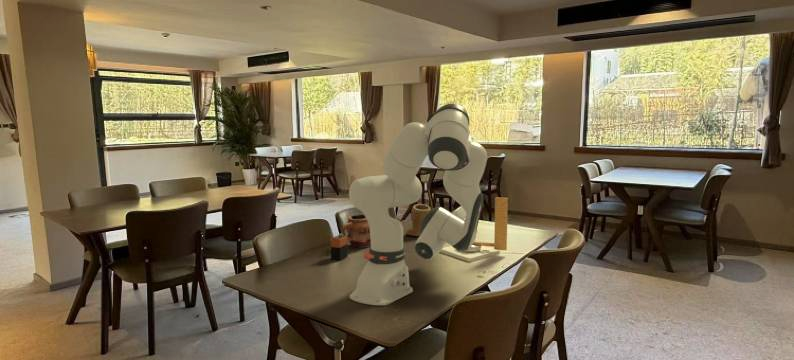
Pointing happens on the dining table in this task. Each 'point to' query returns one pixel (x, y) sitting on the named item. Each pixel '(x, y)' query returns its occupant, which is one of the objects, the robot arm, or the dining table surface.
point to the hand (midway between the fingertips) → (451, 217)
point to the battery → (339, 247)
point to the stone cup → (418, 218)
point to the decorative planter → (357, 231)
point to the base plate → (470, 253)
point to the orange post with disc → (496, 228)
